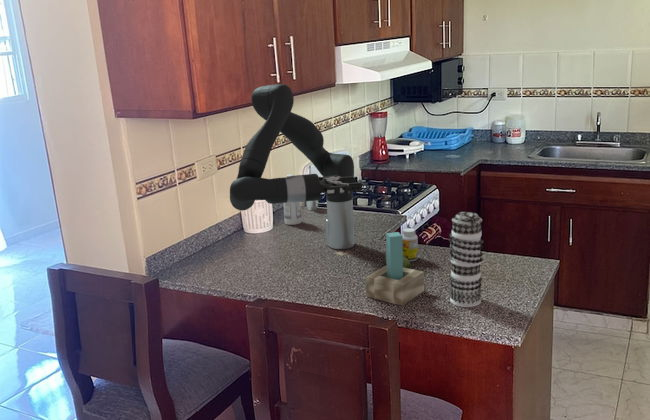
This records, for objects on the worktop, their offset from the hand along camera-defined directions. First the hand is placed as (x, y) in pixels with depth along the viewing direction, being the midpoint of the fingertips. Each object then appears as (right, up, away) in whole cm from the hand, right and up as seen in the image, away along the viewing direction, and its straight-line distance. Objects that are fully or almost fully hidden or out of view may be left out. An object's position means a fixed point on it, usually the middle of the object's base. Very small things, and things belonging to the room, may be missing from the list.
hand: (358, 183), depth 174 cm
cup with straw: (-15, -7, +97) cm, 99 cm away
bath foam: (-22, -13, +77) cm, 81 cm away
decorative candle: (+30, -33, -4) cm, 44 cm away
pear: (+14, -26, +23) cm, 38 cm away
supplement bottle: (+19, -24, +30) cm, 43 cm away
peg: (+11, -30, +3) cm, 32 cm away
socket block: (+11, -32, +3) cm, 34 cm away
